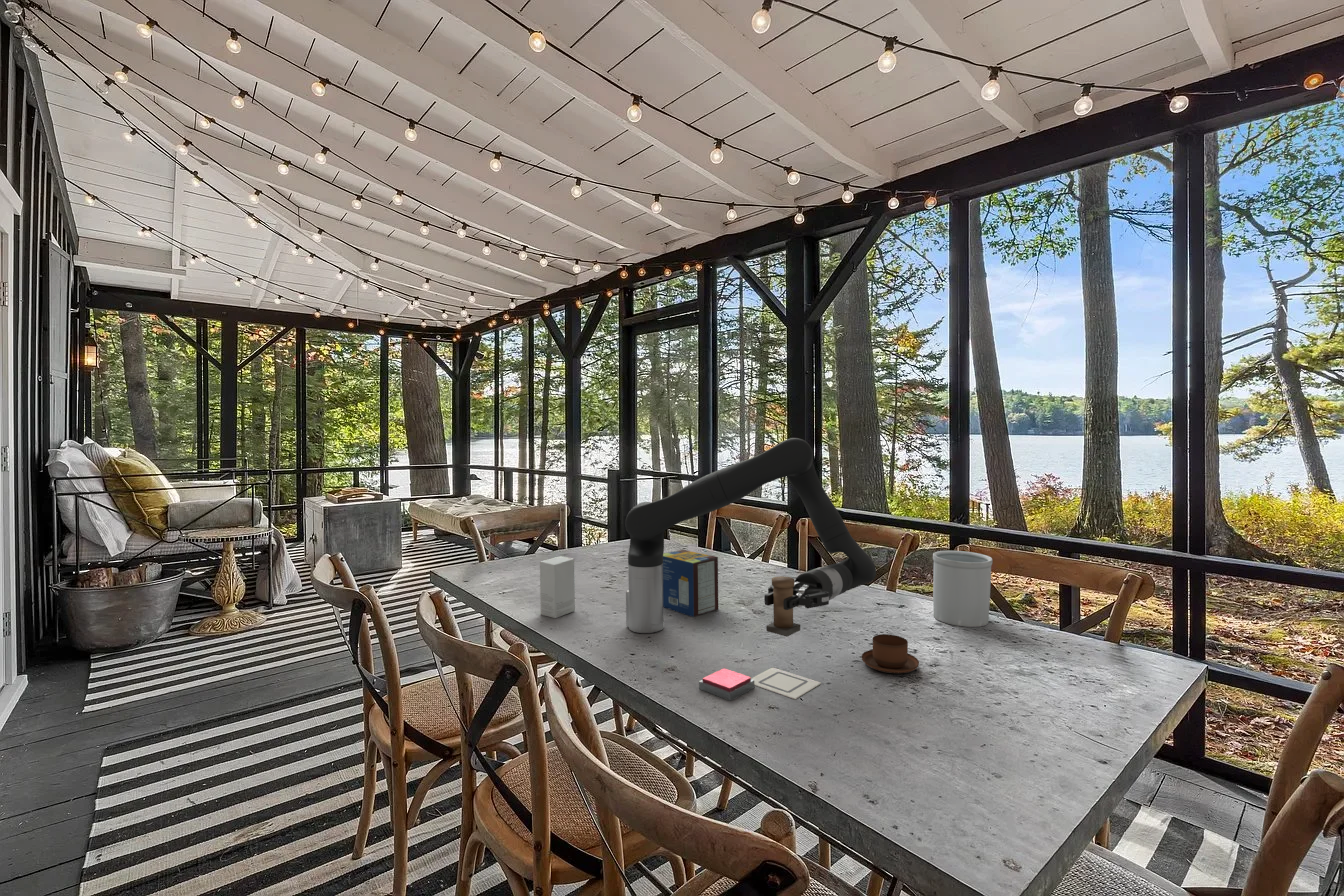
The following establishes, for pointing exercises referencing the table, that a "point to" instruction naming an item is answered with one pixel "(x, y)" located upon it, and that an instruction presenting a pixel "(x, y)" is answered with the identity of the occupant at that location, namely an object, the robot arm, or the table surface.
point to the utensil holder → (961, 588)
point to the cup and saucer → (890, 655)
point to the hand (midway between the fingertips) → (775, 602)
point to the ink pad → (726, 684)
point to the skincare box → (557, 586)
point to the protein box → (690, 582)
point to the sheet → (784, 683)
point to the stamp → (782, 607)
